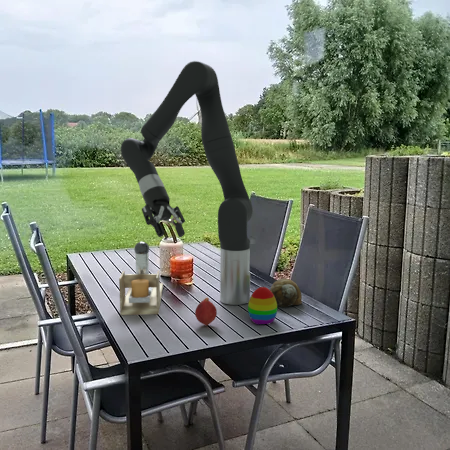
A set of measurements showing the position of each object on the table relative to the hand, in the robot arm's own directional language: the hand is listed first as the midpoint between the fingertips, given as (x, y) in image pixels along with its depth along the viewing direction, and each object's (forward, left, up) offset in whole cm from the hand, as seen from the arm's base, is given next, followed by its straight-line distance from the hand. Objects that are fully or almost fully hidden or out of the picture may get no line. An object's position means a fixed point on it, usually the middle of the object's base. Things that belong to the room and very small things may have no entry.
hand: (172, 235), depth 138 cm
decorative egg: (-25, +16, -22) cm, 37 cm away
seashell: (-36, +2, -22) cm, 42 cm away
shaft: (+10, +1, -18) cm, 21 cm away
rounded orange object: (+10, +5, -17) cm, 20 cm away
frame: (+10, -5, -22) cm, 24 cm away
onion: (-9, +18, -22) cm, 30 cm away
